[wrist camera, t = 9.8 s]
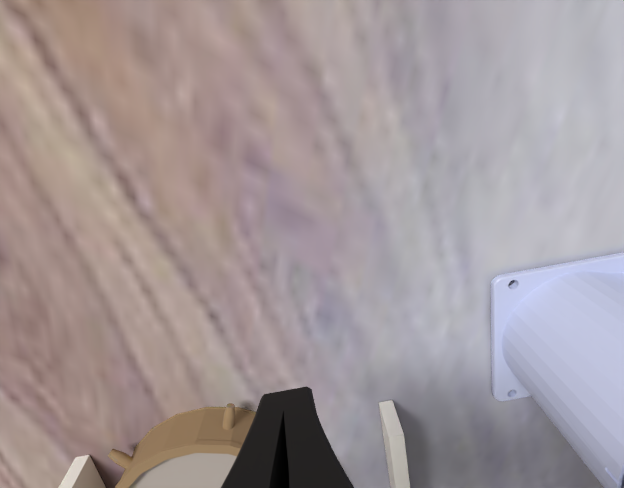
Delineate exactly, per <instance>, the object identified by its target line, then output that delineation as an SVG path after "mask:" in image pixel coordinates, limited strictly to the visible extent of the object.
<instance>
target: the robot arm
mask: <svg viewBox="0 0 624 488" xmlns="http://www.w3.org/2000/svg"><path fill="white" fill-rule="evenodd" d="M512 280H515V281H514V283H513V284H512V285H510V286H508V285H509V283H510V282H511V281H512ZM491 362H492V395H493V396H494V398H495V399H496V400H497V401H507V400H512V399H518V398H524V397H529V396H532V397H533V399H534V400H535V401H536V402H537V404H538V405H539V406H540V407H541V409H542V410H543V411H544V413H545V414H546V415H547V416H548V418H549V419H550V420H551V421H552V423H553V424H554V425H555V426H556V428H557V429H558V430H559V431H560V433H561V434H562V435H563V436H564V438H565V439H566V440H567V442H568V443H569V444H570V445H571V447H572V448H573V449H574V450H575V452H576V453H577V454H578V455H579V457H580V458H581V459H582V460H583V462H584V463H585V464H586V465H587V467H588V468H589V469H590V471H591V472H592V473H593V474H594V476H595V477H596V478H597V479H598V481H599V482H600V483H601V484H602V486H603V487H604V488H624V252H622V253H617V254H612V255H606V256H601V257H595V258H590V259H584V260H579V261H573V262H568V263H562V264H557V265H551V266H546V267H540V268H535V269H529V270H524V271H518V272H513V273H507V274H502V275H498V276H496V277H495V278H494V279H493V280H492V282H491ZM510 390H512V391H510ZM509 391H510V392H509ZM221 488H354V487H353V485H352V484H351V482H350V480H349V479H348V477H347V475H346V474H345V472H344V470H343V468H342V466H341V465H340V463H339V461H338V459H337V457H336V455H335V454H334V452H333V450H332V448H331V446H330V443H329V441H328V439H327V437H326V435H325V433H324V431H323V428H322V426H321V424H320V421H319V418H318V416H317V413H316V408H315V403H314V399H313V394H312V390H311V389H310V388H308V387H302V388H297V389H291V390H286V391H280V392H275V393H269V394H264V395H263V397H262V398H261V400H260V403H259V406H258V409H257V412H256V414H255V417H254V419H253V422H252V424H251V427H250V429H249V431H248V434H247V436H246V438H245V440H244V442H243V445H242V447H241V449H240V451H239V453H238V455H237V457H236V460H235V462H234V464H233V466H232V468H231V469H230V471H229V473H228V475H227V477H226V479H225V481H224V483H223V484H222V486H221Z"/></svg>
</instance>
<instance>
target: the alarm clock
mask: <svg viewBox="0 0 624 488" xmlns="http://www.w3.org/2000/svg"><path fill="white" fill-rule="evenodd" d="M255 414H256V412H254V411H250V410H246V409H243V408H239V407H234V404H227V407H204V408H200V409H196V410H192V411H188V412H184V413H180V414H176V415H174V416H173V417H171V418H169V419H167V420H166V421H164V422H162V423H160V424H159V425H157V426H155V427H153V428H152V429H151V430H150V431H149V432H148V433H147V434H146V436H145V437H144V438H143V439H142V440H141V441H140V442H139V444H138V445H137V446H136V447H135V449H134V452H133V455H132V457H130V456H129V455H127V454H125V453H124V452H121V451H118V450H115V449H112V451H111V452H110V454H109V455H108V457H109V458H111V459H112V460H113V461H114V462H115V463H116V464H118V465H119V466H121V467H123V468H125V471H124V473H123V475H122V477H121V479H120V481H119V482H118V483H117V485H116V487H115V488H221V486H222V484H223V483H224V481H225V479H226V477H227V475H228V473H229V471H230V469H231V468H232V466H233V464H234V462H235V460H236V457H237V455H238V453H239V451H240V449H241V447H242V445H243V442H244V440H245V438H246V436H247V434H248V431H249V429H250V427H251V424H252V422H253V419H254V417H255Z"/></svg>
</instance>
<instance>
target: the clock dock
mask: <svg viewBox="0 0 624 488" xmlns="http://www.w3.org/2000/svg"><path fill="white" fill-rule="evenodd" d="M379 409H380V416H381V423H382V430H383V437H384V444H385V451H386V458H387V465H388V472H389V479H390V486H391V488H410V482H409V473H408V465H407V456H406V448H405V439H404V433H403V430H402V427H401V424H400V421H399V418H398V416H397V413H396V410H395V407H394V404H393V401H392V400H390V401H384V402H379ZM59 488H106V487H105V485H104V483H103V481H102V479H101V477H100V475H99V473H98V471H97V469H96V467H95V465H94V463H93V461H92V459H91V457H90V455H86V456H80V457H76V458H75V460H74V461H73V463H72V465H71V467H70V468H69V470H68V472H67V474H66V476H65V477H64V479H63V481H62V483H61V484H60V486H59Z"/></svg>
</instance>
